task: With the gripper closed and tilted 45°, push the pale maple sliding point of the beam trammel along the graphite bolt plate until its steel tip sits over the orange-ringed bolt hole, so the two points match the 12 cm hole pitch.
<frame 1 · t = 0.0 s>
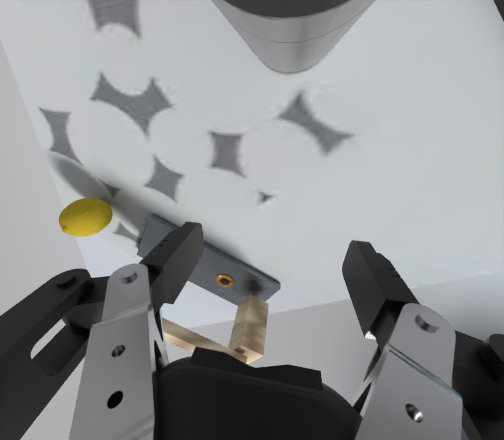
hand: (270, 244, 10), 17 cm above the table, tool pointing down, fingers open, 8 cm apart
bolt plate: (209, 266, 38), on the table
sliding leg: (208, 311, 32), point 8 cm above the table, slide at 7.0 cm
lemon: (108, 204, 34), on the table
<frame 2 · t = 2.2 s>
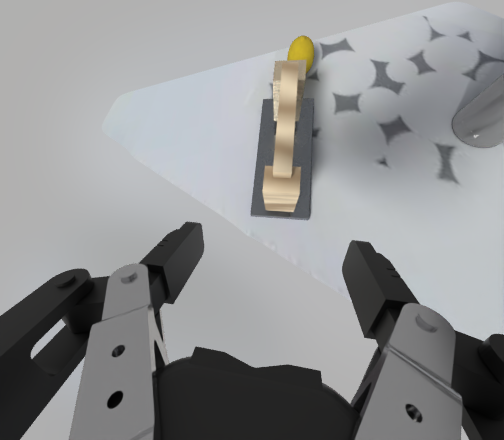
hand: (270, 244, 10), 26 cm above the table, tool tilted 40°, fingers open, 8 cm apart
bolt plate: (283, 156, 40), on the table
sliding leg: (284, 145, 32), point 8 cm above the table, slide at 7.0 cm
lemon: (298, 76, 45), on the table
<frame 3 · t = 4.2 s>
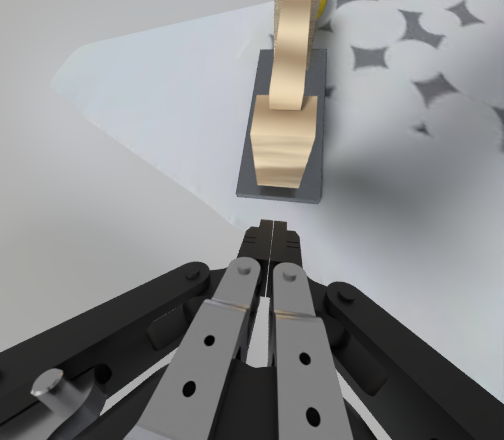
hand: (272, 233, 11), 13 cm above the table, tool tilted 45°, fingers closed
bolt plate: (285, 120, 30), on the table
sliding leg: (288, 84, 21), point 8 cm above the table, slide at 7.0 cm
lemon: (306, 28, 35), on the table
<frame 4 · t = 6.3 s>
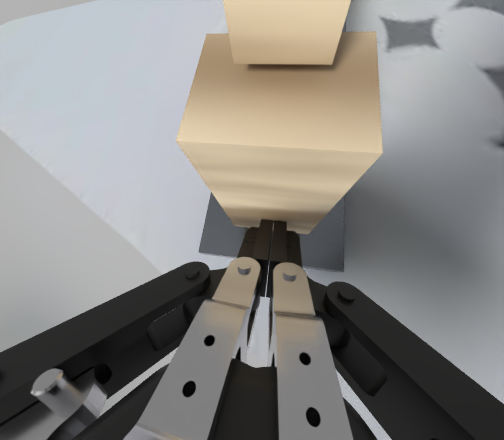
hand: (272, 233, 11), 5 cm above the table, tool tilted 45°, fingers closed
bolt plate: (283, 126, 19), on the table
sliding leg: (290, 41, 11), point 8 cm above the table, slide at 5.5 cm, touching gripper
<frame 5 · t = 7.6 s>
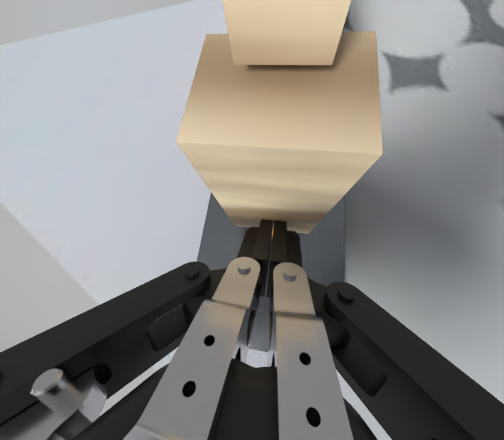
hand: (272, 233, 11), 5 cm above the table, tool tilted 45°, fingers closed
bolt plate: (277, 179, 18), on the table
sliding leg: (290, 40, 11), point 8 cm above the table, slide at -0.4 cm, touching gripper
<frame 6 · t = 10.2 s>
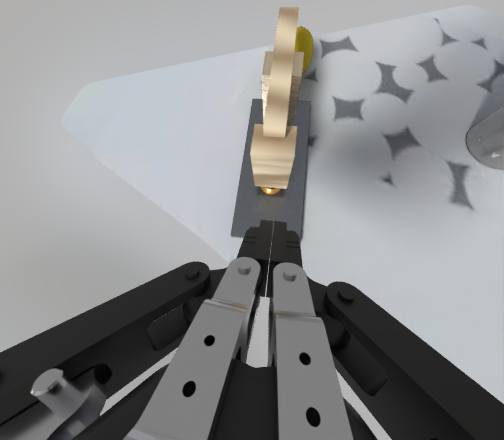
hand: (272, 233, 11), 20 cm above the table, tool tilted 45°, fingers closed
bolt plate: (273, 166, 34), on the table
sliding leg: (278, 109, 27), point 8 cm above the table, slide at -0.6 cm
lemon: (294, 75, 39), on the table
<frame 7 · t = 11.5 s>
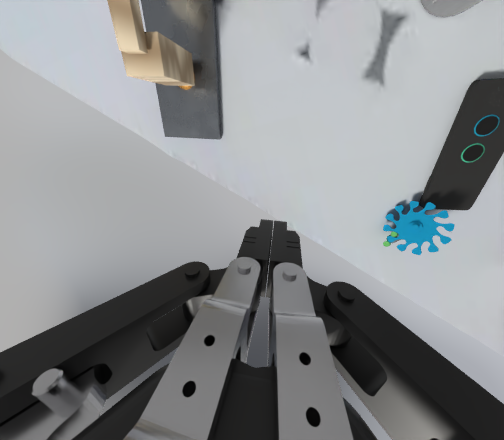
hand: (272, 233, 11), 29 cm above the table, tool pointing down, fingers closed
smart home device: (464, 151, 32), on the table
bolt plate: (184, 47, 31), on the table
blue knobbed spoke wheel: (401, 219, 39), on the table
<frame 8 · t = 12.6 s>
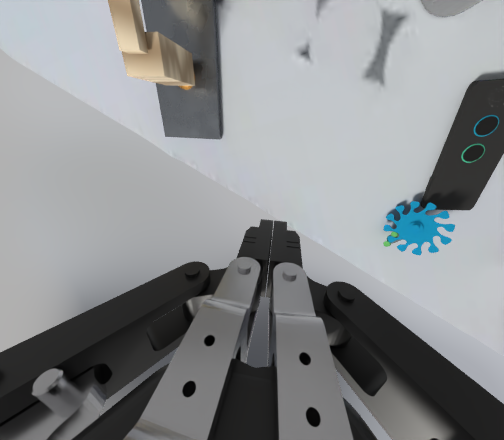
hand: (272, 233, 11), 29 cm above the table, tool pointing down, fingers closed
smart home device: (465, 152, 32), on the table
bolt plate: (184, 47, 31), on the table
blue knobbed spoke wheel: (402, 219, 39), on the table
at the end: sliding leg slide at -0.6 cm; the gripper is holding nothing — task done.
